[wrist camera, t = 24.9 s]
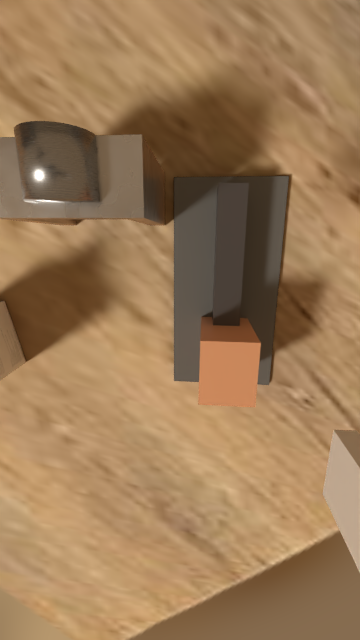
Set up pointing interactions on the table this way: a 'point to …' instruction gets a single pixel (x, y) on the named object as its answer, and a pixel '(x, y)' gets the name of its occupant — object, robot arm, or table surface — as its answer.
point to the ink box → (8, 344)
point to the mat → (198, 264)
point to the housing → (78, 176)
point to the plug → (229, 312)
